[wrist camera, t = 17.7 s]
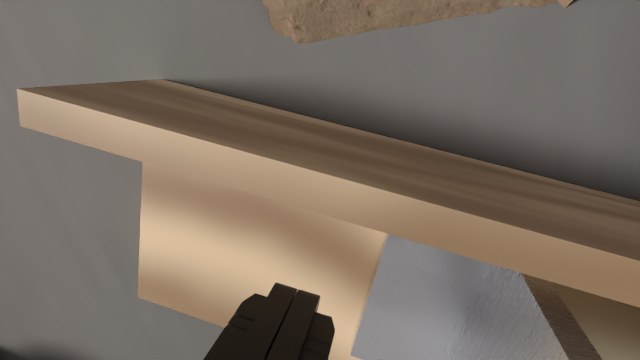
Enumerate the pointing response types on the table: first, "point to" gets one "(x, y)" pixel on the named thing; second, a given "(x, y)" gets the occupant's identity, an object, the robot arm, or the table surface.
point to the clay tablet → (372, 14)
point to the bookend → (462, 311)
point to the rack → (322, 203)
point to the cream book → (605, 323)
